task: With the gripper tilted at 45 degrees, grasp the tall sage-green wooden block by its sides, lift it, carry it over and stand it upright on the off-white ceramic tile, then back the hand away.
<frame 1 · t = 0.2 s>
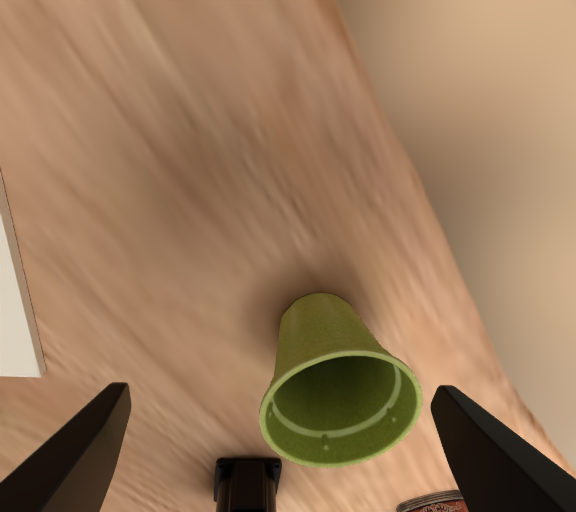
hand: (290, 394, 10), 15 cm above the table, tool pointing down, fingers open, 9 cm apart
plant pot: (317, 321, 27), on the table
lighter: (428, 500, 40), on the table
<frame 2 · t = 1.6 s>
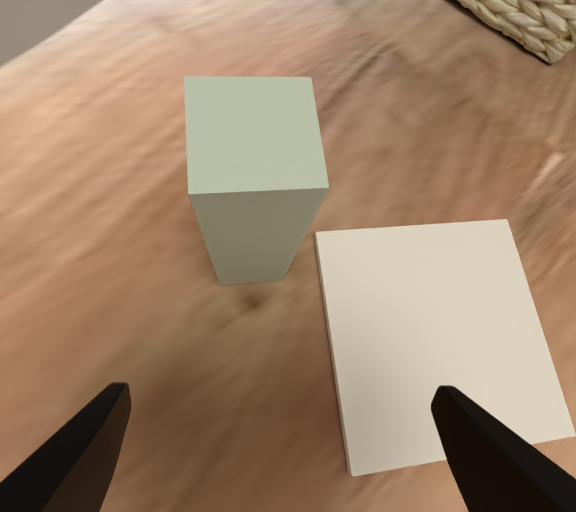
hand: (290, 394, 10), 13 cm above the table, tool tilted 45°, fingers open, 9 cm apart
block: (249, 253, 25), on the table
tile: (434, 330, 25), on the table
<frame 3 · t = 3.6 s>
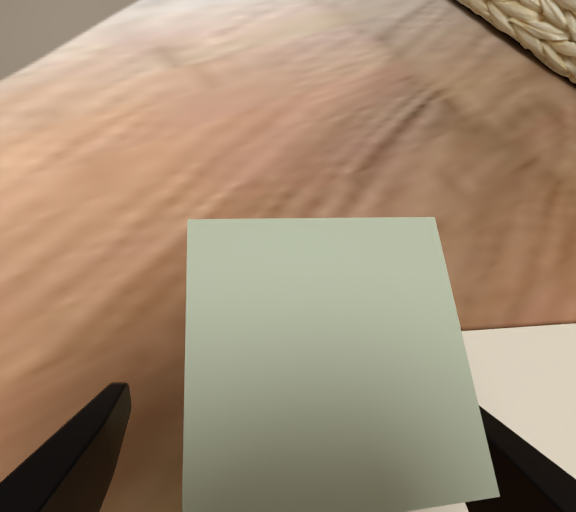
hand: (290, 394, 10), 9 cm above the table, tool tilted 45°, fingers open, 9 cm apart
block: (264, 364, 18), on the table
storage basket: (549, 23, 33), on the table
tile: (510, 481, 18), on the table
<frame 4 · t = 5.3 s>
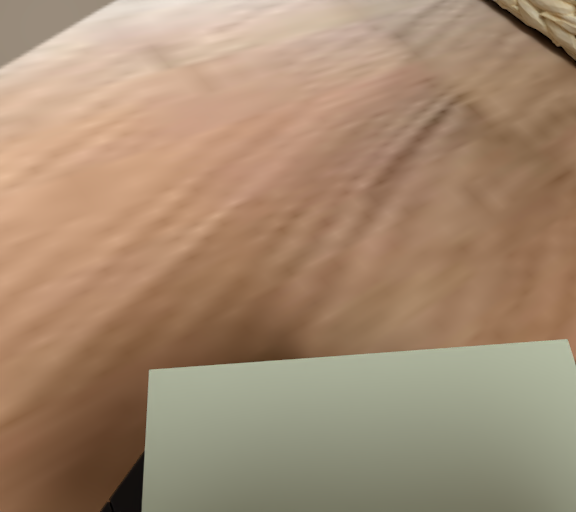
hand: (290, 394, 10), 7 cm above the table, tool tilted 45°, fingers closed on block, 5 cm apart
block: (268, 415, 16), on the table, touching gripper
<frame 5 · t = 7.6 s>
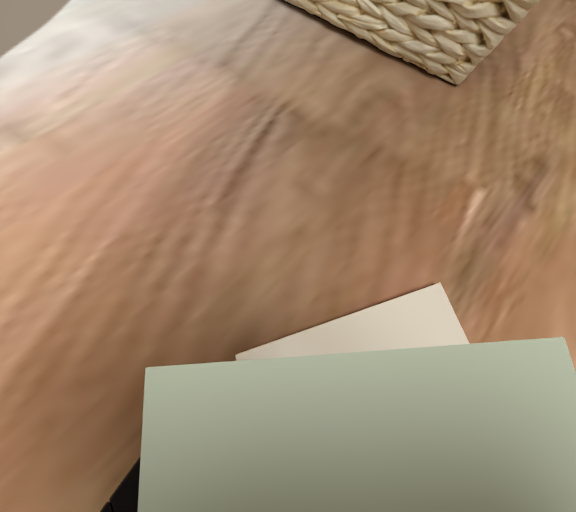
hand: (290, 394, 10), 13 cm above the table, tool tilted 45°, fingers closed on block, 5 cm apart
block: (268, 414, 16), point 6 cm above the table, touching gripper
storage basket: (382, 6, 36), on the table
tile: (386, 432, 22), on the table
when the fingers open (9 cm above the table, at t = 10.2 s): block stays where it is, resting on tile.
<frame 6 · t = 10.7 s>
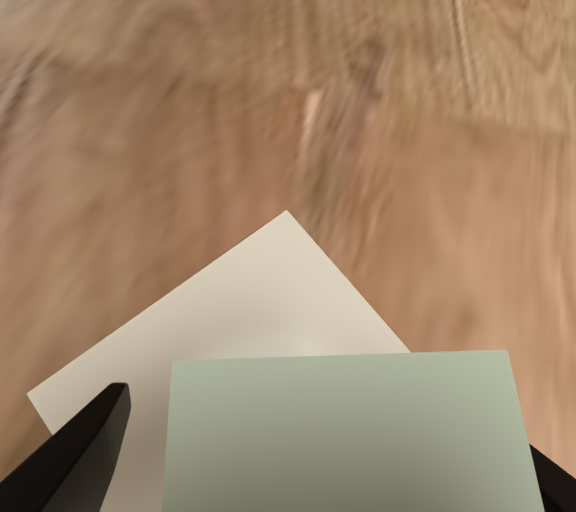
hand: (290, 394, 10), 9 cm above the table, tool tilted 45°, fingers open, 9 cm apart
block: (267, 411, 17), point 1 cm above the table, touching tile
tile: (266, 410, 18), on the table
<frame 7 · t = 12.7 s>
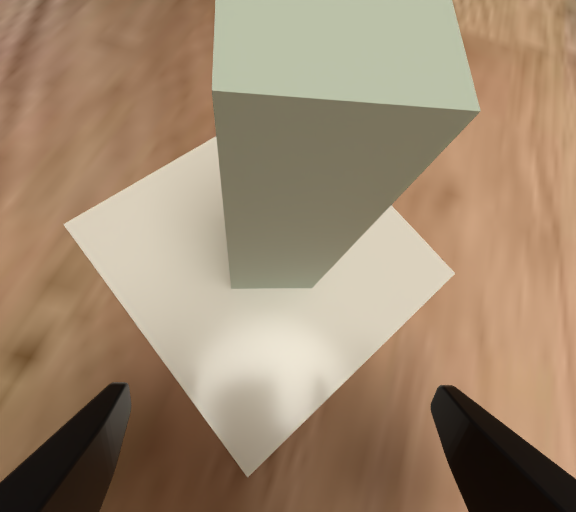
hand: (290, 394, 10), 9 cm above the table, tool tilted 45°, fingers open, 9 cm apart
block: (271, 250, 19), point 1 cm above the table, touching tile
tile: (270, 254, 20), on the table
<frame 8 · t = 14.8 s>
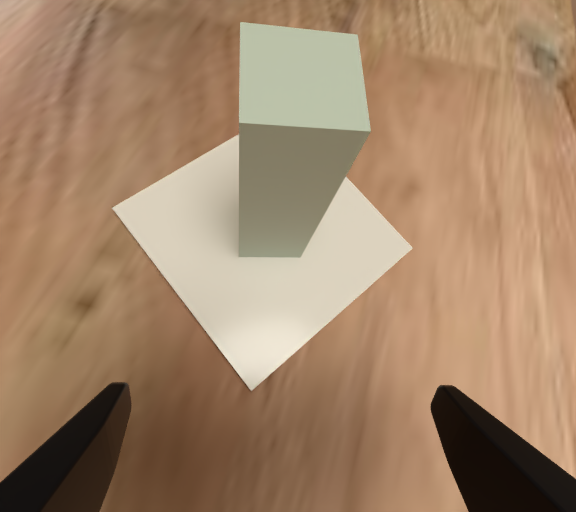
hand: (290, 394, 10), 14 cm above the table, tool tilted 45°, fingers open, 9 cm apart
block: (269, 228, 25), point 1 cm above the table, touching tile
tile: (268, 233, 26), on the table
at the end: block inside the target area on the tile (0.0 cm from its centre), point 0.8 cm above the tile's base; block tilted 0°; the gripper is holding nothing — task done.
